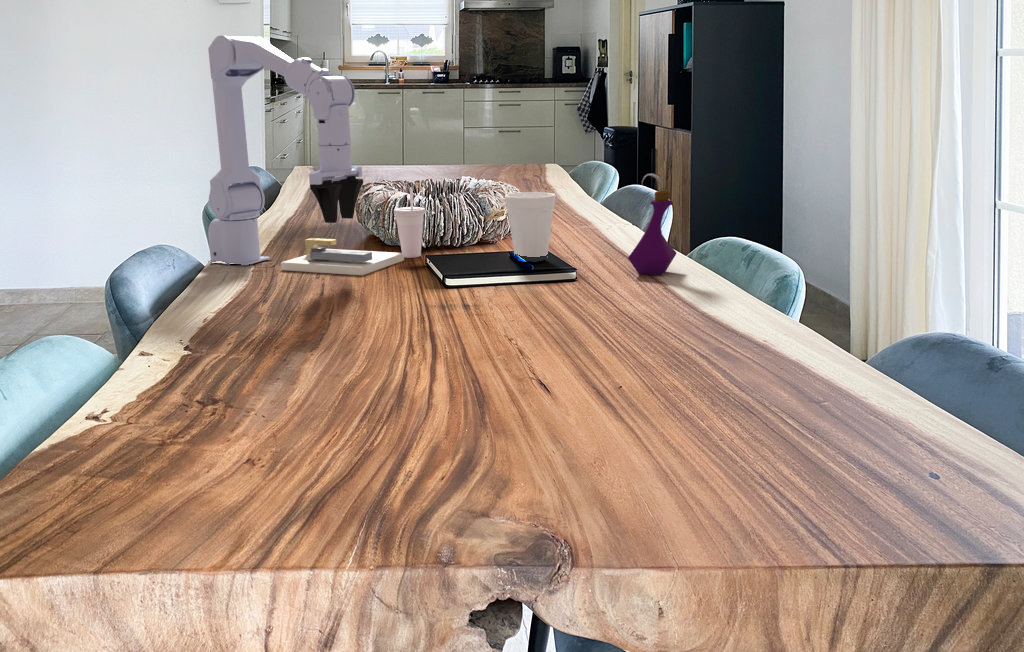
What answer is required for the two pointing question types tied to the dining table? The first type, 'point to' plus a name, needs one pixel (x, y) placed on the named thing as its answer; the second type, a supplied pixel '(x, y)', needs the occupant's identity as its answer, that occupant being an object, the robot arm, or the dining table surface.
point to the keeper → (317, 243)
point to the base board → (343, 264)
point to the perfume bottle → (654, 239)
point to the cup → (530, 221)
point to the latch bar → (339, 255)
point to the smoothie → (410, 228)
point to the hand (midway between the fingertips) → (339, 220)
